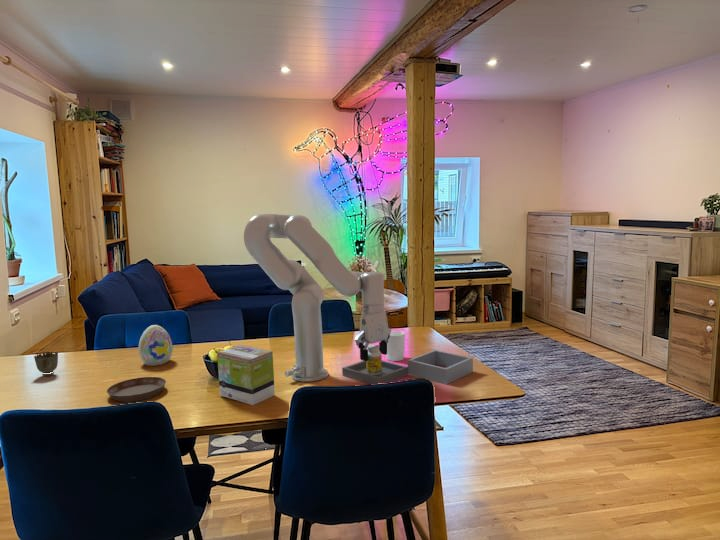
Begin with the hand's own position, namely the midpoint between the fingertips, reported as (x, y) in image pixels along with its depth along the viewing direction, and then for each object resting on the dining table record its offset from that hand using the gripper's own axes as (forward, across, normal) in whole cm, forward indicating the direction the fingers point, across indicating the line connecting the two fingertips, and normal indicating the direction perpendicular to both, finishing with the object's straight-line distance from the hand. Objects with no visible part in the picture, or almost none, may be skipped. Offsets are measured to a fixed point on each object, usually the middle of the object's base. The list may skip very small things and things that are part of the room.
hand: (373, 357), depth 175 cm
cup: (+8, -76, +93) cm, 120 cm away
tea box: (+7, -40, +18) cm, 44 cm away
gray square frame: (+6, +16, -16) cm, 24 cm away
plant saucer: (+8, -62, +48) cm, 78 cm away
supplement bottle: (+6, 0, 0) cm, 6 cm away
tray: (+6, 0, 0) cm, 7 cm away
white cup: (+7, +19, +7) cm, 21 cm away
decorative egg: (+8, -43, +76) cm, 87 cm away
